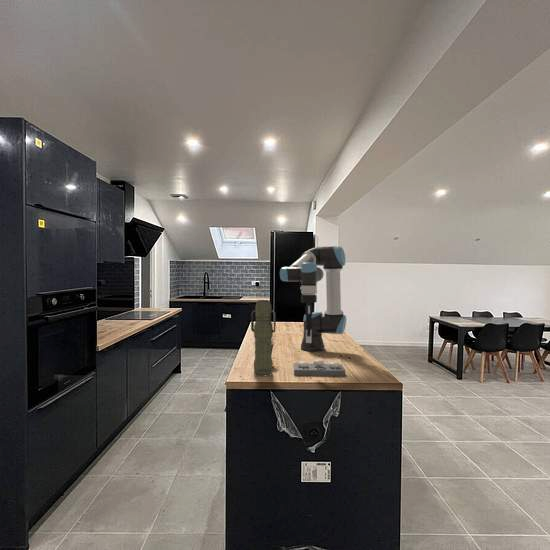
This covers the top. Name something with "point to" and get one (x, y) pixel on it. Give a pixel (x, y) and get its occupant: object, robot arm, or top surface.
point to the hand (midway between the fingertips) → (308, 342)
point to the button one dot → (334, 364)
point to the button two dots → (303, 364)
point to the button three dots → (318, 363)
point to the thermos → (263, 337)
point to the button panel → (319, 370)
